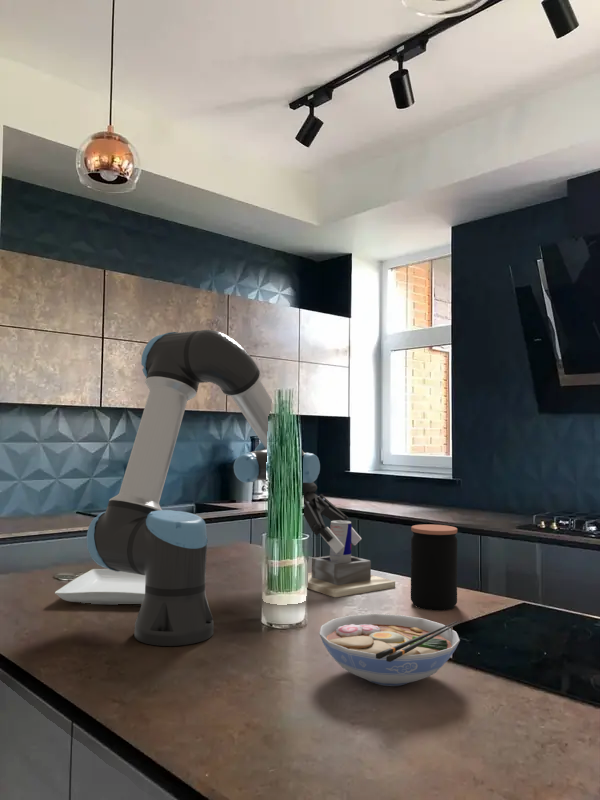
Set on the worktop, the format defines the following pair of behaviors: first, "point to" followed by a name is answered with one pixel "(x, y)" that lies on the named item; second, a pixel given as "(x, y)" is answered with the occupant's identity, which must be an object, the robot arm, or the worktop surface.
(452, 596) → the coffee jar
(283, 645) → the worktop surface
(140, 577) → the square plate
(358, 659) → the ramen bowl
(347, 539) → the beverage can
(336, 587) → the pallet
